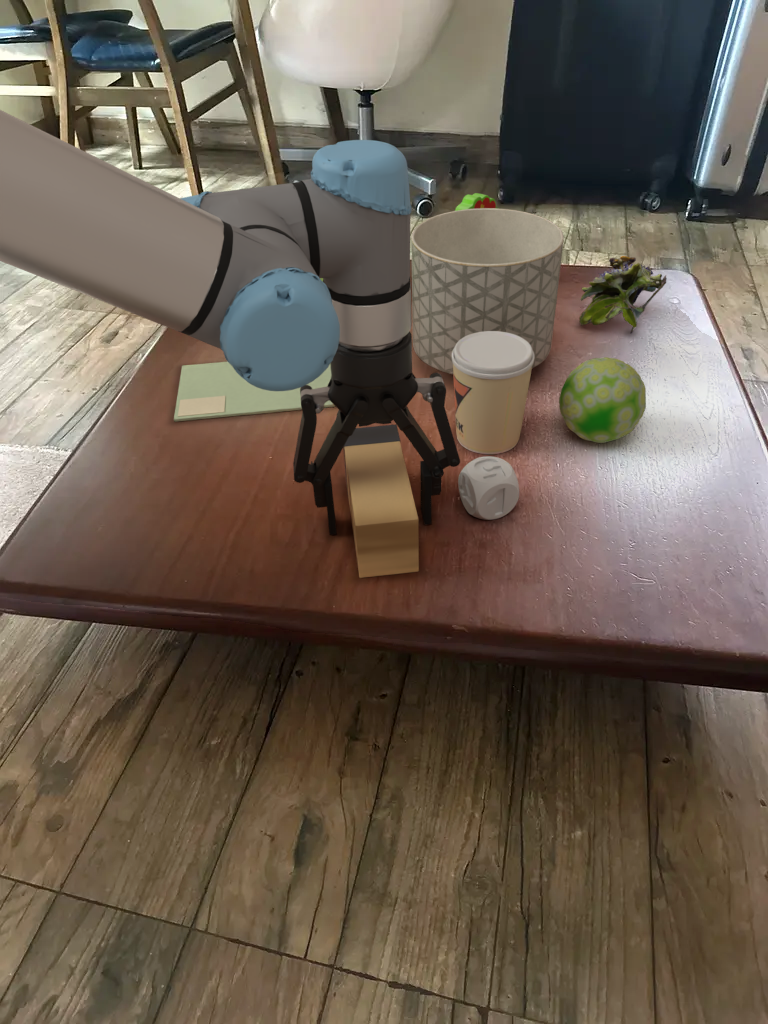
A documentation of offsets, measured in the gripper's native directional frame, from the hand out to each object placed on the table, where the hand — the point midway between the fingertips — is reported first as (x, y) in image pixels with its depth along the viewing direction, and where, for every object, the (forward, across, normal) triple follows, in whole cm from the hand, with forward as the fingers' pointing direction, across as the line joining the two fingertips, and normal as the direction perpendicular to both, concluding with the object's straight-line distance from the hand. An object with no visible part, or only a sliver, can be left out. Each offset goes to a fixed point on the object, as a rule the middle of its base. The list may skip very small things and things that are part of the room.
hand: (379, 521), depth 84 cm
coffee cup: (0, -15, -14) cm, 21 cm away
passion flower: (0, -41, -40) cm, 57 cm away
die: (0, -12, -1) cm, 12 cm away
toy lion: (0, -20, -54) cm, 58 cm away
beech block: (0, 0, 0) cm, 0 cm away
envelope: (0, +12, -31) cm, 33 cm away
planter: (0, -18, -32) cm, 37 cm away
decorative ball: (0, -28, -12) cm, 31 cm away
